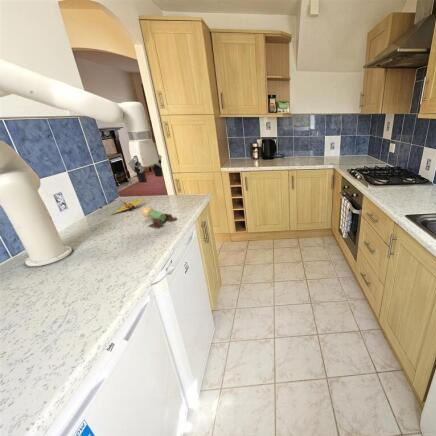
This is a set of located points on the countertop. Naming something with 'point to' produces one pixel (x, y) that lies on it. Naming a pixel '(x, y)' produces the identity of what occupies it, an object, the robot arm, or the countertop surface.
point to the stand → (158, 223)
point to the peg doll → (153, 213)
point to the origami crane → (128, 205)
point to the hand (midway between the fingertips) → (151, 179)
